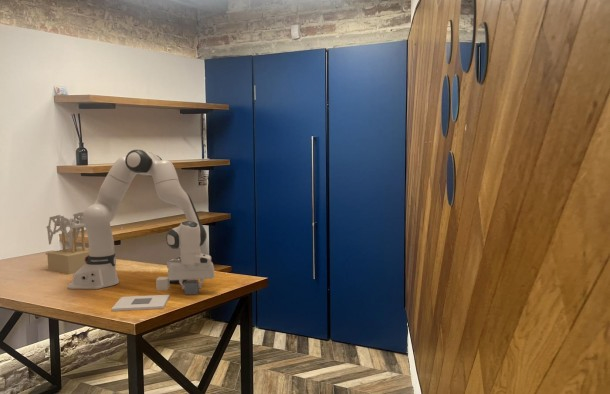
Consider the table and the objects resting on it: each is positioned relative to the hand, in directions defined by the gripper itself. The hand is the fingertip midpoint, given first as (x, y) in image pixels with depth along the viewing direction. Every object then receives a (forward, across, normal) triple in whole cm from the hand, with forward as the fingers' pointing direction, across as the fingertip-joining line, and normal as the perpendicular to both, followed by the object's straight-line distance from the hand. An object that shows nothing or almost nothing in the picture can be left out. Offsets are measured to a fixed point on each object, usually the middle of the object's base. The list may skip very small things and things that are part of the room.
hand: (191, 288), depth 218 cm
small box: (+2, -8, +22) cm, 23 cm away
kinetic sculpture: (+2, -69, +57) cm, 90 cm away
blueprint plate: (+2, -19, -13) cm, 23 cm away
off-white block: (+2, -14, +9) cm, 17 cm away
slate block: (+2, 0, 0) cm, 2 cm away
